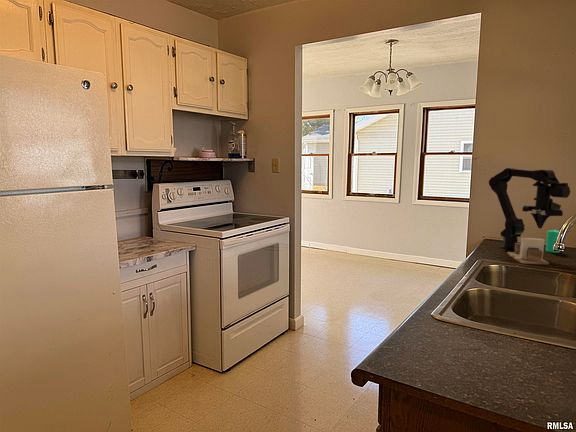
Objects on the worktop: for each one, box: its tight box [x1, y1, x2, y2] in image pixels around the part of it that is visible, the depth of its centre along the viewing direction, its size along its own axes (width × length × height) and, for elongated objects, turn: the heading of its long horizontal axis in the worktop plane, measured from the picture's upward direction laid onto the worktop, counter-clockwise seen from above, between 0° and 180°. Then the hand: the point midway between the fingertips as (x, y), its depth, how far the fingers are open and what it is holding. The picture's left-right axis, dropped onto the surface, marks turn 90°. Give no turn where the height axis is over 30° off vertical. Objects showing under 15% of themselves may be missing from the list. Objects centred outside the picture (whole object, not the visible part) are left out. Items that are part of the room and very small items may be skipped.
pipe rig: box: [507, 242, 550, 266], centre depth 182 cm, size 18×11×6 cm, turn 169°
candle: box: [545, 229, 561, 254], centre depth 198 cm, size 6×6×12 cm
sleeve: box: [520, 237, 545, 260], centre depth 177 cm, size 3×9×9 cm, turn 79°
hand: (539, 228), depth 189 cm, fingers closed
